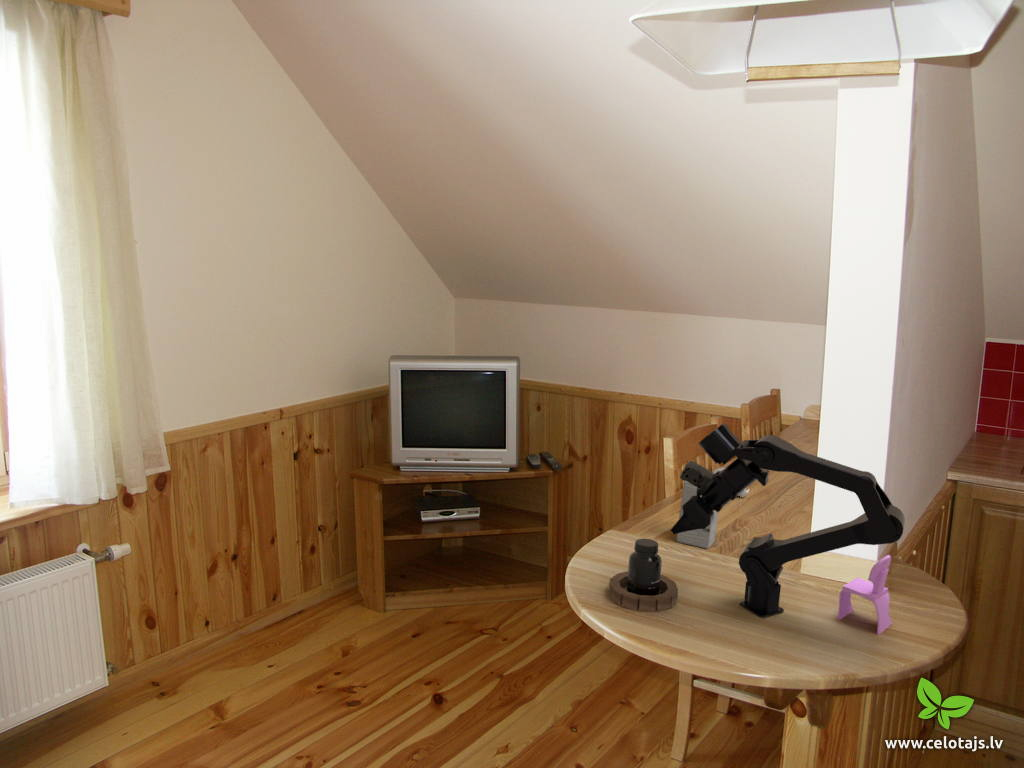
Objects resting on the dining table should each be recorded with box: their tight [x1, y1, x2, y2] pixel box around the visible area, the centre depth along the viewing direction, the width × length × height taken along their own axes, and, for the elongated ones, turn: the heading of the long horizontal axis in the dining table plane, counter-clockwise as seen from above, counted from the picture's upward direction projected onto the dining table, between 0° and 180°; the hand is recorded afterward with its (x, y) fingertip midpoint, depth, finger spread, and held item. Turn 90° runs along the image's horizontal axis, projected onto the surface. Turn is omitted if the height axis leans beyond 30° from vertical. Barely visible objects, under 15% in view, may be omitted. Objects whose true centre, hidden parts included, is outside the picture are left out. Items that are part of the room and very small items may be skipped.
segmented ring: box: [608, 570, 679, 613], centre depth 174 cm, size 14×14×2 cm
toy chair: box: [837, 554, 893, 636], centre depth 164 cm, size 8×9×15 cm
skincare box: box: [676, 481, 719, 549], centre depth 203 cm, size 8×7×16 cm
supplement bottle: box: [626, 538, 663, 596], centre depth 173 cm, size 7×7×12 cm
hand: (677, 525), depth 175 cm, fingers open, 9 cm apart
